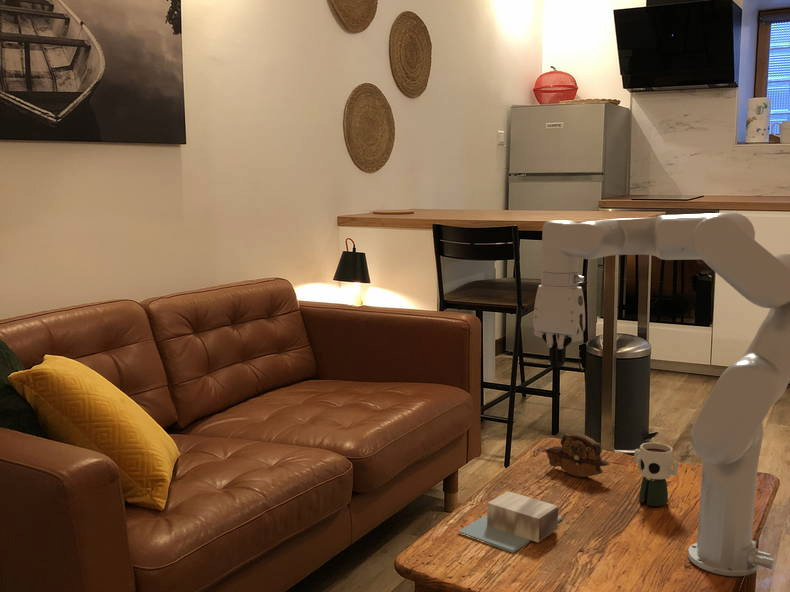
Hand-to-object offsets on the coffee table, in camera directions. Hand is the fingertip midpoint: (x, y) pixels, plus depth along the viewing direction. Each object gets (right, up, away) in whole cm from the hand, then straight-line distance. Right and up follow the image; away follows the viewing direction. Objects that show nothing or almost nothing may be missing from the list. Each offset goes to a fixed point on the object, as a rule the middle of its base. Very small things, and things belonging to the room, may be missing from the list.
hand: (557, 365), depth 173 cm
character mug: (+24, -32, +11) cm, 41 cm away
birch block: (-3, -31, -8) cm, 32 cm away
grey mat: (-10, -34, -2) cm, 35 cm away
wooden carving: (+10, -29, +27) cm, 41 cm away
